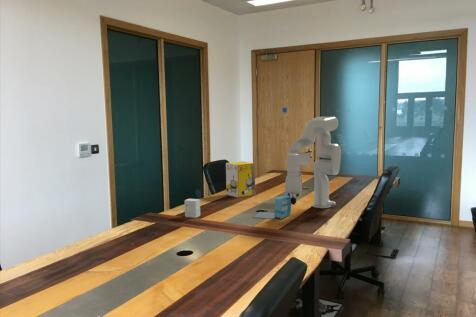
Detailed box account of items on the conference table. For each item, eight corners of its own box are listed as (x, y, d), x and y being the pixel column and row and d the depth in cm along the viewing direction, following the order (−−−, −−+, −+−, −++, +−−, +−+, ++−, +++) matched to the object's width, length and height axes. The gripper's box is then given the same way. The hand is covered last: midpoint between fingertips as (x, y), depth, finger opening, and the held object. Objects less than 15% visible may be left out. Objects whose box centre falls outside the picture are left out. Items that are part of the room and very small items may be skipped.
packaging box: (255, 195, 309) (255, 163, 306) (238, 197, 300) (237, 164, 297) (243, 191, 322) (242, 161, 319) (226, 194, 313) (225, 162, 310)
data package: (280, 219, 237) (281, 199, 235) (273, 217, 239) (275, 198, 237) (290, 215, 246) (291, 196, 244) (284, 213, 249) (285, 194, 247)
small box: (200, 215, 247) (200, 199, 246) (195, 218, 242) (195, 201, 241) (189, 214, 251) (189, 198, 250) (184, 216, 246) (184, 200, 245)
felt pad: (279, 213, 250) (279, 213, 250) (274, 219, 237) (274, 218, 237) (259, 212, 255) (259, 211, 255) (253, 217, 241) (253, 217, 241)
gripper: (307, 173, 239) (306, 203, 241) (282, 172, 243) (282, 202, 245) (305, 175, 232) (304, 206, 234) (279, 174, 236) (279, 205, 238)
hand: (293, 204), depth 240 cm, fingers closed
